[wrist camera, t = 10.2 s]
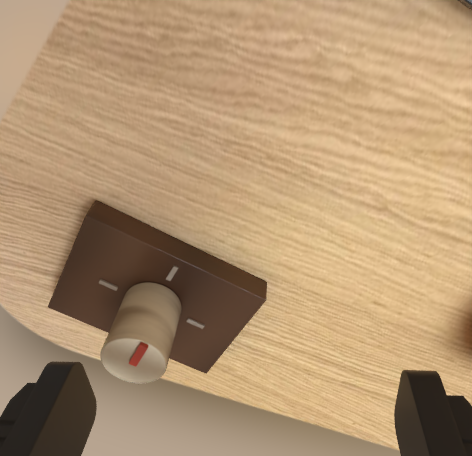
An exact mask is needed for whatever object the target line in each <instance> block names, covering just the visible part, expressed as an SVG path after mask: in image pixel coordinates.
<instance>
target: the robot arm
mask: <svg viewBox="0 0 472 456" xmlns="http://www.w3.org/2000/svg"><path fill="white" fill-rule="evenodd" d="M95 416H96V398H95V395H94V393H93V390H92V388H91V385H90V382H89V380H88V377H87V375H86V372H85V370H84V367H83V365H82V364H81V363H80V362H50V363H48V364H47V365H46V367H45V368H44V370H43V372H42V374H41V375H40V377H39V379H38V381H37V383H27V384H26V385H25V386H24V387H23V388H22V389H21V390H20V391H19V392H18V393H17V394H16V395H15V396H14V397H13V398H12V399H11V400H10V401H9V403H8V405H7V406H6V408H5V410H4V411H3V413H2V415H1V417H0V456H81V454H82V452H83V449H84V447H85V444H86V442H87V439H88V436H89V434H90V431H91V429H92V426H93V423H94V420H95ZM394 416H395V429H396V435H397V440H398V444H399V449H400V453H401V456H472V406H471V405H470V403H469V402H468V401H467V400H466V399H465V398H464V396H448V395H446V392H445V389H444V387H443V384H442V381H441V378H440V376H439V374H438V373H437V372H436V371H416V370H403V371H402V374H401V378H400V384H399V389H398V394H397V399H396V405H395V414H394Z"/></svg>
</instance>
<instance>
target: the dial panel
mask: <svg viewBox="0 0 472 456" xmlns="http://www.w3.org/2000/svg"><path fill="white" fill-rule="evenodd" d="M146 282H150V283H157V284H160V285H163V286H165V287H167V288H169V289H170V290H172V291H173V292H174V293H175V294H176V295H177V296H178V298H179V300H180V302H181V306H182V310H181V314H180V318H179V322H178V326H177V330H176V334H175V337H174V341H173V345H172V349H171V353H170V356H169V358H170V359H173V360H175V361H177V362H180V363H182V364H184V365H187V366H189V367H192V368H194V369H196V370H199V371H201V372H204V373H207V372H208V371H209V370H210V368H211V367H212V366H213V365H214V363H215V362H216V361H217V360H218V358H219V357H220V356H221V355H222V354H223V352H224V351H225V350H226V349H227V347H228V346H229V345H230V344H231V343H232V341H233V340H234V339H235V338H236V336H237V335H238V334H239V333H240V331H241V330H242V329H243V328H244V327H245V325H246V324H247V323H248V322H249V320H250V319H251V318H252V317H253V315H254V314H255V313H256V312H257V311H258V309H259V308H260V307H261V306H262V304H263V303H264V302H265V301H266V293H267V282H265V281H263V280H261V279H259V278H257V277H255V276H253V275H251V274H249V273H246V272H244V271H242V270H240V269H238V268H236V267H234V266H232V265H230V264H228V263H226V262H224V261H221V260H219V259H217V258H215V257H213V256H211V255H209V254H207V253H205V252H203V251H201V250H199V249H196V248H194V247H192V246H190V245H188V244H186V243H184V242H182V241H180V240H178V239H176V238H174V237H171V236H169V235H167V234H165V233H163V232H161V231H159V230H157V229H155V228H153V227H151V226H149V225H146V224H144V223H142V222H140V221H138V220H136V219H134V218H132V217H130V216H128V215H126V214H124V213H121V212H119V211H117V210H115V209H113V208H111V207H109V206H107V205H105V204H103V203H101V202H99V201H95V203H94V204H93V206H92V207H91V209H90V210H89V212H88V213H87V215H86V217H85V219H84V221H83V224H82V226H81V229H80V231H79V233H78V236H77V238H76V241H75V243H74V245H73V248H72V250H71V253H70V255H69V257H68V260H67V262H66V265H65V267H64V269H63V272H62V274H61V277H60V279H59V281H58V284H57V286H56V289H55V291H54V293H53V296H52V298H51V301H50V303H49V305H48V307H49V308H51V309H53V310H56V311H58V312H60V313H63V314H65V315H68V316H70V317H72V318H75V319H77V320H80V321H82V322H84V323H87V324H89V325H91V326H94V327H96V328H99V329H101V330H103V331H106V332H108V333H109V331H110V329H111V327H112V324H113V322H114V320H115V317H116V315H117V313H118V310H119V308H120V306H121V303H122V301H123V299H124V296H125V294H126V292H127V291H128V290H129V289H130V288H131V287H132V286H134V285H136V284H140V283H146Z"/></svg>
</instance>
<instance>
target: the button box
mask: <svg viewBox="0 0 472 456" xmlns="http://www.w3.org/2000/svg"><path fill="white" fill-rule="evenodd" d="M458 1H460V2H461V3H463V4H464V5H465V6H467V7H468V8H470V9H471V10H472V0H458Z"/></svg>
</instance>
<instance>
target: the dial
mask: <svg viewBox="0 0 472 456" xmlns="http://www.w3.org/2000/svg"><path fill="white" fill-rule="evenodd" d="M181 310H182V306H181V302H180V300H179V298H178V296H177V295H176V294H175V293H174V292H173V291H172V290H170V289H169V288H167V287H165V286H163V285H160V284H157V283H150V282H146V283H140V284H136V285H134V286H132V287H131V288H130V289H129V290H128V291H127V292H126V294H125V296H124V299H123V301H122V303H121V306H120V308H119V310H118V313H117V315H116V317H115V320H114V322H113V324H112V327H111V329H110V331H109V334H108V336H107V338H106V341H105V343H104V345H103V348H102V350H101V361H102V364H103V365H104V367H105V368H106V369H107V370H108V371H109V372H110V373H111V374H112V375H114V376H115V377H117V378H120V379H122V380H124V381H128V382H132V383H149V382H153V381H155V380H157V379H159V378H160V377H161V376H162V375H163V374H164V373H165V371H166V368H167V364H168V360H169V356H170V353H171V349H172V345H173V341H174V337H175V334H176V330H177V326H178V322H179V318H180V314H181Z"/></svg>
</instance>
